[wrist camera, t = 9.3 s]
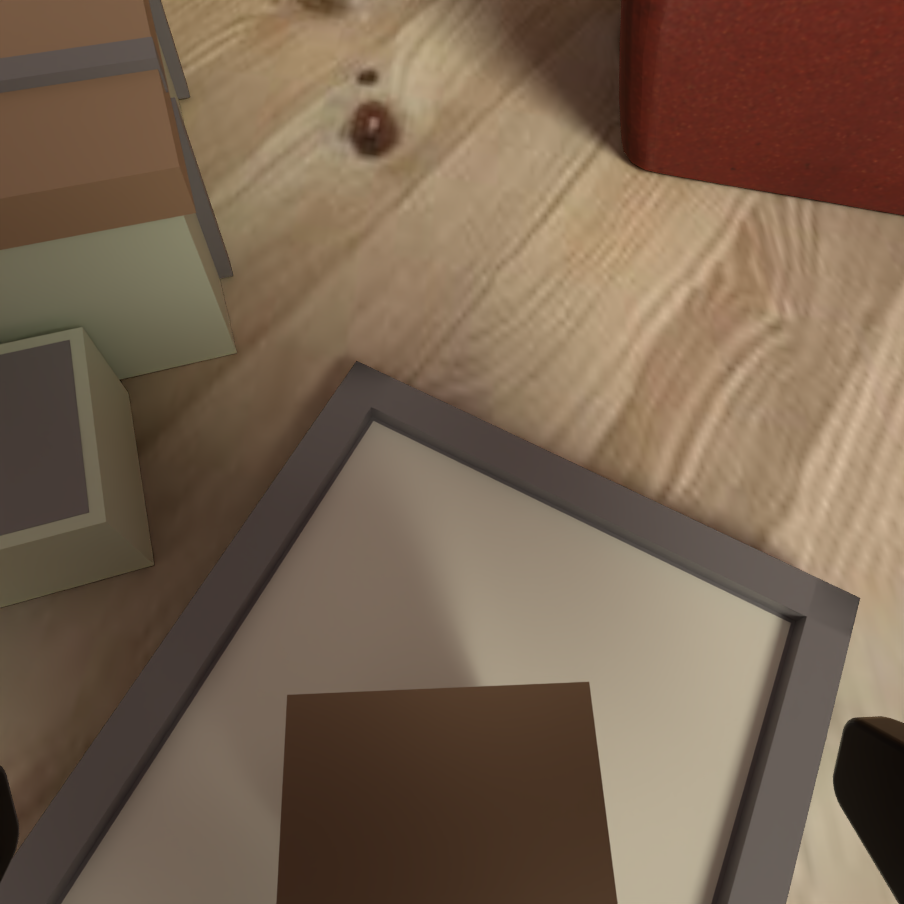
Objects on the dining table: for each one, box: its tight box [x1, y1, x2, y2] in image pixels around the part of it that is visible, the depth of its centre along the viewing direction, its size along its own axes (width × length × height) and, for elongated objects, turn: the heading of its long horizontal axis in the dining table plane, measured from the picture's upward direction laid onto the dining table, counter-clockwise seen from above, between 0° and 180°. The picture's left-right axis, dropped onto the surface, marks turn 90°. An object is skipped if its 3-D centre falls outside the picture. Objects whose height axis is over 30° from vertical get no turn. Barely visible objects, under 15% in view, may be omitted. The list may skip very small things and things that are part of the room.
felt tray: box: [0, 361, 860, 904], centre depth 14 cm, size 13×17×2 cm
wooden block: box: [276, 682, 618, 904], centre depth 10 cm, size 3×3×8 cm
